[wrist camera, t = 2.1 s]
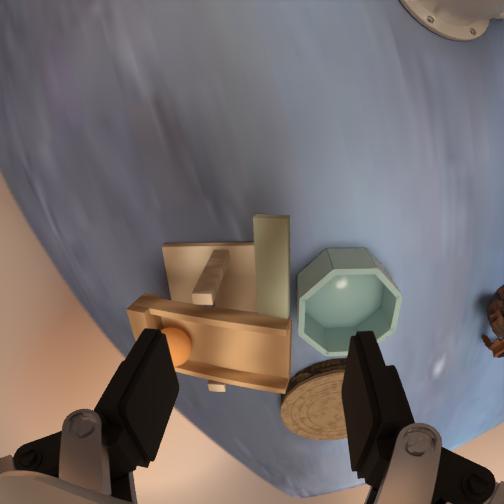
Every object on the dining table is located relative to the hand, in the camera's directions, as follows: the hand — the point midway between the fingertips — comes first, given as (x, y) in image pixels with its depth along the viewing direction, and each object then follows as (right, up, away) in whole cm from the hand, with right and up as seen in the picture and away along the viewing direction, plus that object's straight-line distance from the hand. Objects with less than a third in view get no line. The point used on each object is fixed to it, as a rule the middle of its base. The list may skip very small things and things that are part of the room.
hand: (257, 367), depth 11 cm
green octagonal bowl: (+10, 0, +24) cm, 26 cm away
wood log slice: (+12, -17, +31) cm, 37 cm away
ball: (-7, -4, +16) cm, 18 cm away
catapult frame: (-3, -1, +25) cm, 25 cm away
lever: (-4, 0, +16) cm, 17 cm away
